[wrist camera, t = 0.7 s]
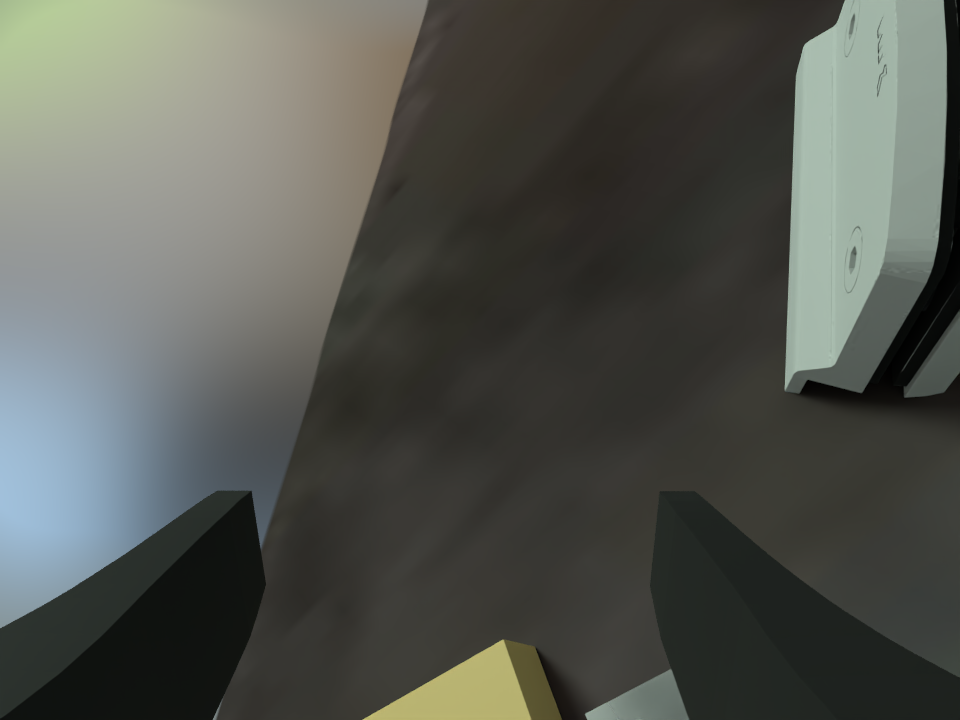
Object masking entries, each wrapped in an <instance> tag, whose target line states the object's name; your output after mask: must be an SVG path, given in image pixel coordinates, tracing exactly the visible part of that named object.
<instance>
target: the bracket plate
mask: <svg viewBox="0 0 960 720" xmlns="http://www.w3.org/2000/svg"><path fill="white" fill-rule="evenodd" d="M363 720H562V718H561V716H560V713H559V710H558V708H557V705H556V702H555V700H554V697H553V694H552V692H551V689H550V686H549V683H548V681H547V678H546V675H545V673H544V670H543V667H542V665H541V662H540V659H539V657H538V654H537V651H536V649H535V647H533V646H529V645H525V644H521V643H516V642H512V641H508V640H504V639H503V640H501V641H500V642H498V643H496V644H494V645H493V646H491V647H489V648H487V649H486V650H484V651H482V652H480V653H479V654H477V655H475V656H473V657H472V658H470V659H468V660H466V661H465V662H463V663H461V664H459V665H458V666H456V667H454V668H452V669H451V670H449V671H447V672H446V673H444V674H442V675H440V676H439V677H437V678H435V679H433V680H432V681H430V682H428V683H426V684H425V685H423V686H421V687H419V688H418V689H416V690H414V691H412V692H411V693H409V694H407V695H405V696H404V697H402V698H400V699H398V700H397V701H395V702H393V703H391V704H390V705H388V706H386V707H384V708H383V709H381V710H379V711H377V712H376V713H374V714H372V715H370V716H369V717H367V718H365V719H363Z"/></svg>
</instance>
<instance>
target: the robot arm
mask: <svg viewBox="0 0 960 720" xmlns="http://www.w3.org/2000/svg"><path fill="white" fill-rule="evenodd" d="M265 586H266V581H265V575H264V569H263V562H262V556H261V549H260V543H259V537H258V530H257V524H256V517H255V511H254V504H253V498H252V491H216V492H215V493H213V494H211V495H210V496H208V497H206V498H205V499H203V500H202V501H200V502H199V503H197V504H196V505H195V506H193V507H192V508H190V509H189V510H187V511H186V512H185V513H183V514H182V515H180V516H179V517H178V518H176V519H175V520H173V521H172V522H170V523H169V524H168V525H166V526H165V527H163V528H162V529H160V530H159V531H158V532H156V533H155V534H153V535H152V536H151V537H149V538H148V539H146V540H145V541H143V542H142V543H140V544H139V545H138V546H136V547H135V548H133V549H132V550H130V551H129V552H128V553H126V554H125V555H123V556H121V557H120V558H118V559H117V560H116V561H114V562H112V563H111V564H109V565H108V566H106V567H104V568H103V569H101V570H100V571H98V572H97V573H95V574H94V575H92V576H91V577H89V578H88V579H86V580H84V581H83V582H81V583H79V584H78V585H76V586H75V587H73V588H72V589H70V590H68V591H67V592H65V593H63V594H62V595H60V596H58V597H57V598H55V599H53V600H51V601H50V602H48V603H46V604H44V605H43V606H41V607H39V608H37V609H36V610H34V611H32V612H30V613H28V614H26V615H25V616H23V617H21V618H19V619H17V620H15V621H13V622H11V623H10V624H8V625H6V626H4V627H2V628H0V720H213V718H214V715H215V713H216V711H217V709H218V707H219V705H220V702H221V700H222V698H223V696H224V694H225V692H226V689H227V687H228V685H229V683H230V681H231V679H232V676H233V674H234V672H235V670H236V667H237V665H238V663H239V661H240V659H241V656H242V654H243V652H244V650H245V647H246V645H247V643H248V640H249V638H250V636H251V632H252V629H253V626H254V623H255V620H256V617H257V614H258V610H259V607H260V603H261V600H262V596H263V593H264V589H265ZM650 588H651V593H652V598H653V603H654V608H655V613H656V618H657V622H658V627H659V631H660V636H661V640H662V643H663V646H664V649H665V652H666V655H667V658H668V661H669V664H670V667H671V669H672V672H673V675H674V678H675V681H676V684H677V687H678V690H679V693H680V695H681V698H682V701H683V704H684V707H685V710H686V713H687V715H688V718H689V720H960V678H959V677H957V676H955V675H953V674H951V673H949V672H948V671H946V670H944V669H942V668H940V667H938V666H936V665H935V664H933V663H931V662H929V661H927V660H925V659H924V658H922V657H920V656H918V655H916V654H914V653H912V652H911V651H909V650H907V649H905V648H904V647H902V646H900V645H898V644H897V643H895V642H893V641H892V640H890V639H888V638H886V637H885V636H883V635H881V634H880V633H878V632H877V631H875V630H874V629H872V628H870V627H869V626H867V625H866V624H864V623H863V622H861V621H859V620H858V619H856V618H855V617H853V616H851V615H850V614H848V613H847V612H845V611H844V610H842V609H841V608H839V607H838V606H836V605H835V604H833V603H832V602H830V601H829V600H828V599H826V598H825V597H823V596H822V595H821V594H819V593H818V592H817V591H815V590H814V589H813V588H811V587H810V586H808V585H807V584H806V583H804V582H803V581H802V580H800V579H799V578H798V577H796V576H795V575H794V574H792V573H791V572H790V571H789V570H787V569H786V568H785V567H783V566H782V565H781V564H780V563H778V562H777V561H776V560H775V559H773V558H772V557H771V556H770V555H768V554H767V553H766V552H765V551H764V550H762V549H761V548H760V547H759V546H758V545H756V544H755V543H754V542H753V541H752V540H751V539H749V538H748V537H747V536H746V535H745V534H744V533H742V532H741V531H740V530H739V529H738V528H737V527H736V526H734V525H733V524H732V523H731V522H730V521H729V520H728V519H726V518H725V517H724V516H723V515H722V514H721V513H720V512H718V511H717V510H716V509H715V508H714V507H713V506H712V505H710V504H709V503H708V502H707V501H706V500H705V499H704V498H702V497H701V496H700V495H699V494H697V493H696V492H695V491H660V494H659V504H658V513H657V523H656V533H655V543H654V553H653V562H652V572H651V582H650Z"/></svg>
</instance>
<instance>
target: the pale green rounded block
mask: <svg viewBox="0 0 960 720" xmlns="http://www.w3.org/2000/svg"><path fill="white" fill-rule="evenodd" d="M891 361H892V380H893V385H896V386H904V398H907V397H920V396H929V395H934V394H939V393H944V392H945V391H946V389H947V388H948V387H949V385H950V384H951V383H952V382H953V380H954V379H955V378H956V377H957V375H958V374H959V373H960V0H845V2H844V5H843V8H842V11H841V14H840V17H839V20H838V22H837V24H836V25H835V26H834V27H833V28H831V29H829V30H827V31H826V32H824V33H822V34H821V35H819V36H817V37H815V38H814V39H812V40H810V41H809V42H807V43H806V44H805V46H804V47H803V51H802V55H801V59H800V63H799V66H798V70H797V74H796V95H795V123H794V151H793V178H792V206H791V234H790V261H789V289H788V317H787V345H786V372H785V391H786V392H792V393H800V391H801V390H802V388H803V386H804V385H805V383H806V381H807V380H811V381H815V382H819V383H823V384H827V385H831V386H835V387H839V388H843V389H847V390H851V391H855V392H859V393H862V392H863V391H864V389H865V387H866V385H867V384H868V383H875V384H878V382H879V381H880V379H881V378H882V376H883V374H884V373H885V371H886V369H887V368H888V366H889V364H890V363H891Z"/></svg>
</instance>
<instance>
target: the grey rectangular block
mask: <svg viewBox="0 0 960 720" xmlns="http://www.w3.org/2000/svg"><path fill="white" fill-rule="evenodd" d="M585 715H586V718H587V720H689V718H688V715H687V713H686V710H685V707H684V704H683V701H682V698H681V695H680V693H679V690H678V687H677V684H676V681H675V678H674V675H673V672H672V669H670V670H668V671H667V672H665V673H663V674H661V675H659V676H657V677H655V678H653V679H651V680H649V681H647V682H645V683H643V684H642V685H640V686H638V687H636V688H634V689H632V690H630V691H628V692H626V693H624V694H622V695H620V696H619V697H617V698H615V699H613V700H611V701H609V702H607V703H605V704H603V705H601V706H599V707H597V708H595V709H594V710H592V711H590V712H588V713H586V714H585Z"/></svg>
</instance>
